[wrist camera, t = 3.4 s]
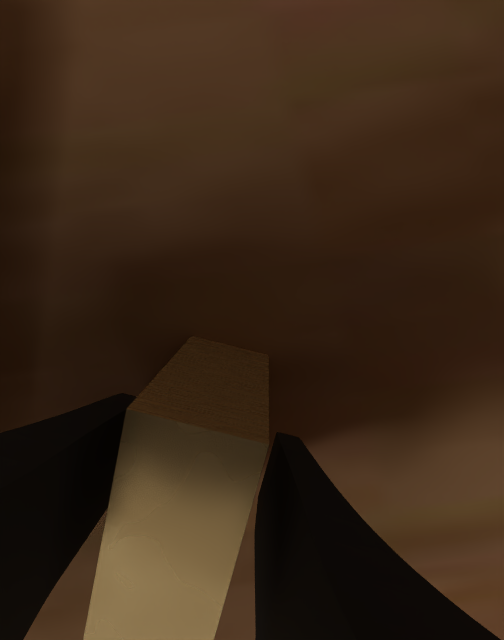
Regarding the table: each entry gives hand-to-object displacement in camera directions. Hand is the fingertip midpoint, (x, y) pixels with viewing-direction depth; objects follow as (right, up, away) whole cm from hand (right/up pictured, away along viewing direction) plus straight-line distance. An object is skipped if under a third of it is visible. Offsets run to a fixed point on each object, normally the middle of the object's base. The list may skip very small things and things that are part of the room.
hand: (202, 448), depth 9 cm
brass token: (0, 0, +2) cm, 2 cm away
